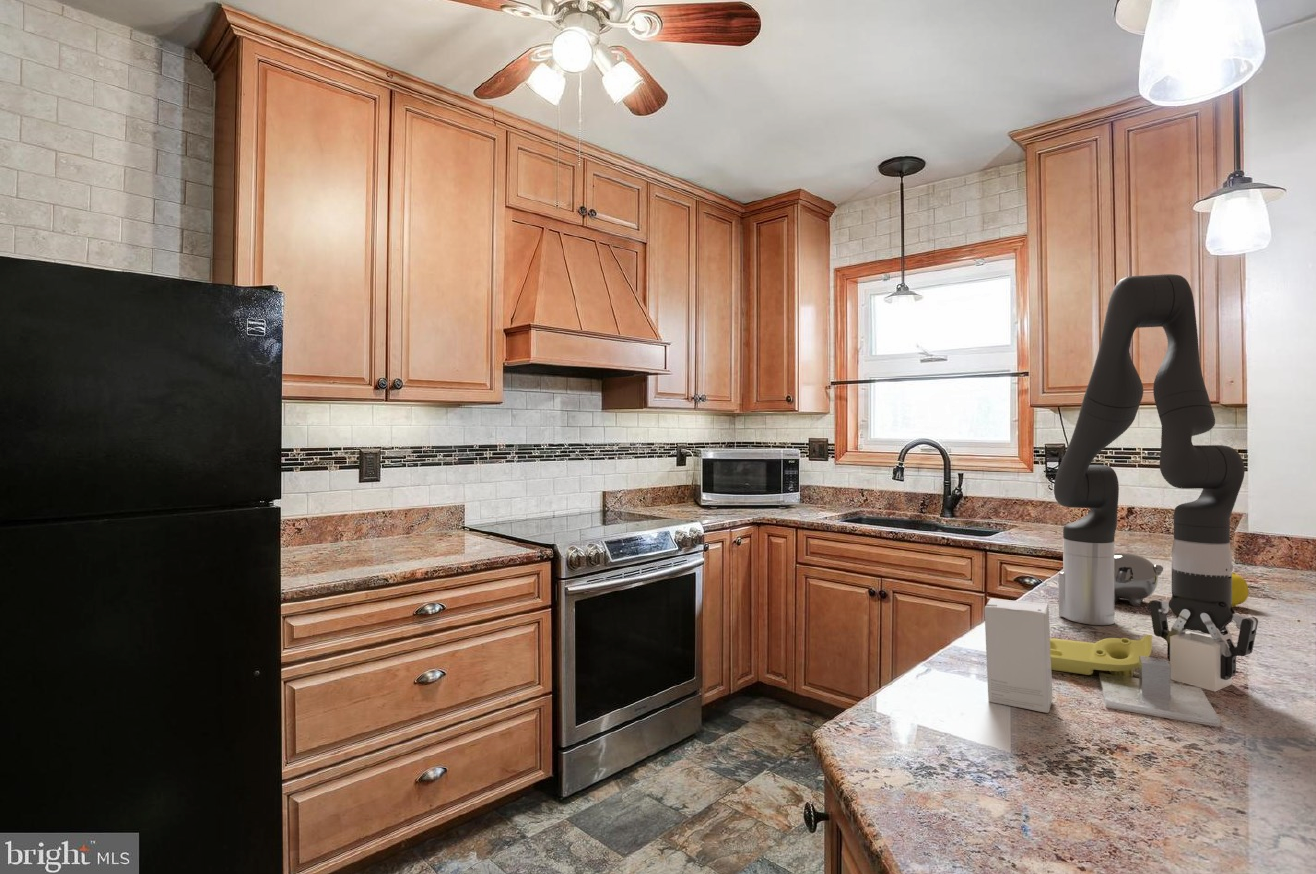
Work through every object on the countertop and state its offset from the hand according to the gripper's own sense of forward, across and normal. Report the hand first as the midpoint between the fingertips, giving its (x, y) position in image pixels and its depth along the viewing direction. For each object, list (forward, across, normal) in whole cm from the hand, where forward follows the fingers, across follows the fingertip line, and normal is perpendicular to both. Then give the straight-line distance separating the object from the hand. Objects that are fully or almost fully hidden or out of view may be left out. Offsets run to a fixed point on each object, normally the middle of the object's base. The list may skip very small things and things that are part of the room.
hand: (1200, 671), depth 106 cm
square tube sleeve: (+2, 0, 0) cm, 2 cm away
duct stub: (+2, 0, -15) cm, 15 cm away
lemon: (+2, -17, +60) cm, 62 cm away
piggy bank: (+2, -32, +44) cm, 54 cm away
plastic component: (+2, -13, -11) cm, 17 cm away
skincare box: (+2, -10, -33) cm, 35 cm away
